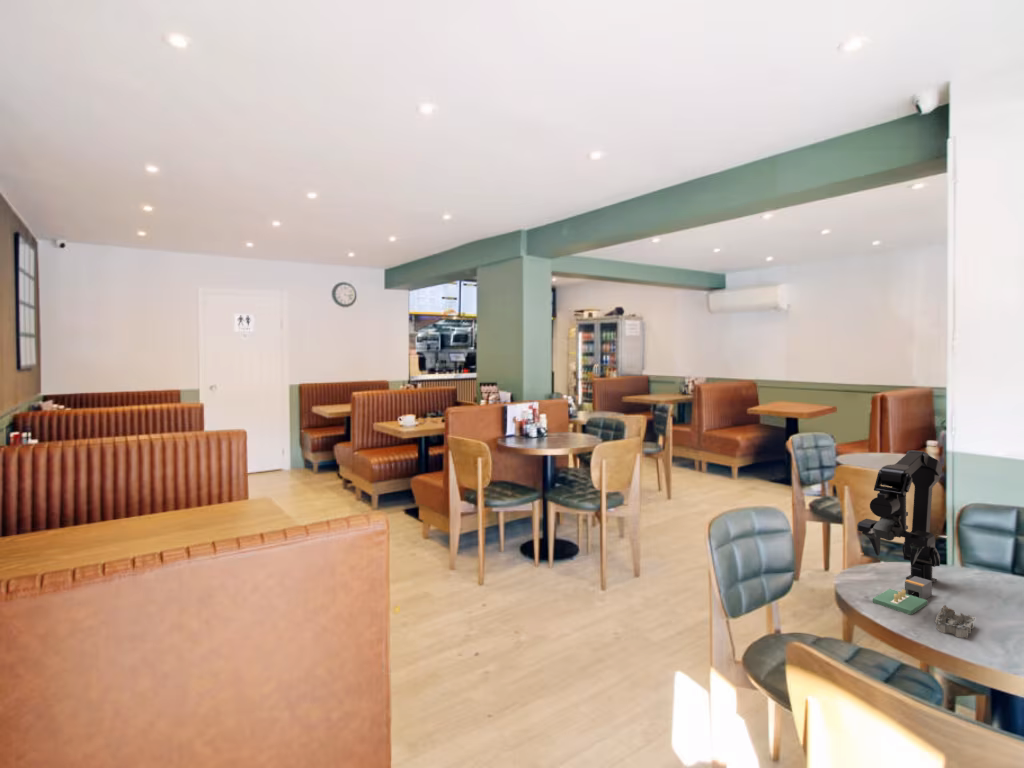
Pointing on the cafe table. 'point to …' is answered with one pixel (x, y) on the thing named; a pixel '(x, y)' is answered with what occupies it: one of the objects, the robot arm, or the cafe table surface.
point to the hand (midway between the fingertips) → (894, 559)
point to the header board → (900, 601)
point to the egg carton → (954, 622)
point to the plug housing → (919, 587)
